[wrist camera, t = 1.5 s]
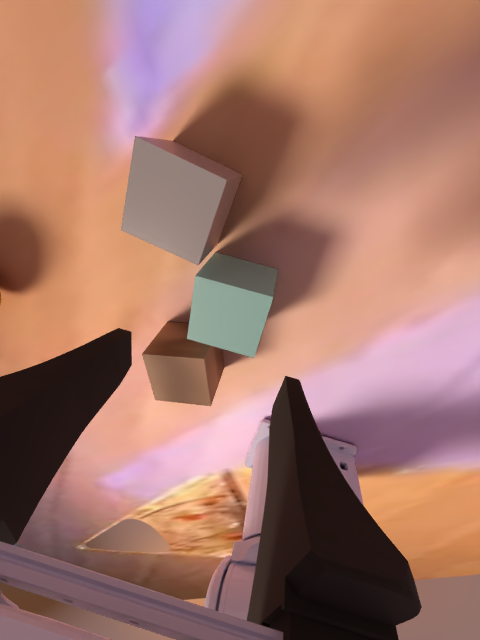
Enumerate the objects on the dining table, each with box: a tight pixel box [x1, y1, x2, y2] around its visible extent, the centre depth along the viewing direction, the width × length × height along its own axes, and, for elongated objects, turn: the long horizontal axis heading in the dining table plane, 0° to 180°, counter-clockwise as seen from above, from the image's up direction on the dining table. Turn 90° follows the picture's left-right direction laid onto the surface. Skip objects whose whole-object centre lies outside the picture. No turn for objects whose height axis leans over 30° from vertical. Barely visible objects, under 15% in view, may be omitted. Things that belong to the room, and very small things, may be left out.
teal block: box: [187, 252, 278, 358], centre depth 18 cm, size 4×4×4 cm
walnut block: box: [142, 322, 224, 406], centre depth 22 cm, size 4×4×4 cm
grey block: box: [121, 136, 243, 265], centre depth 15 cm, size 4×4×4 cm
